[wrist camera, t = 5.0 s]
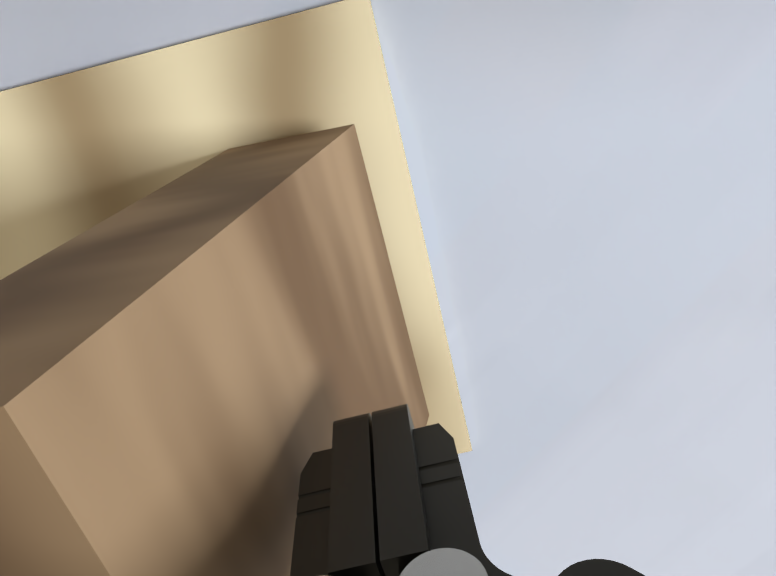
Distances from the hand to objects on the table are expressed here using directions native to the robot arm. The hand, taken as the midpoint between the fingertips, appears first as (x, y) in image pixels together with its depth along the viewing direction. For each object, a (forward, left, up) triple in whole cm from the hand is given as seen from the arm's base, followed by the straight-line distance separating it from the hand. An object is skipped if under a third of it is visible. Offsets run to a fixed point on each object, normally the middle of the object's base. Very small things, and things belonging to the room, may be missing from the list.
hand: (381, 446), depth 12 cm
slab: (+1, 0, -8) cm, 8 cm away
